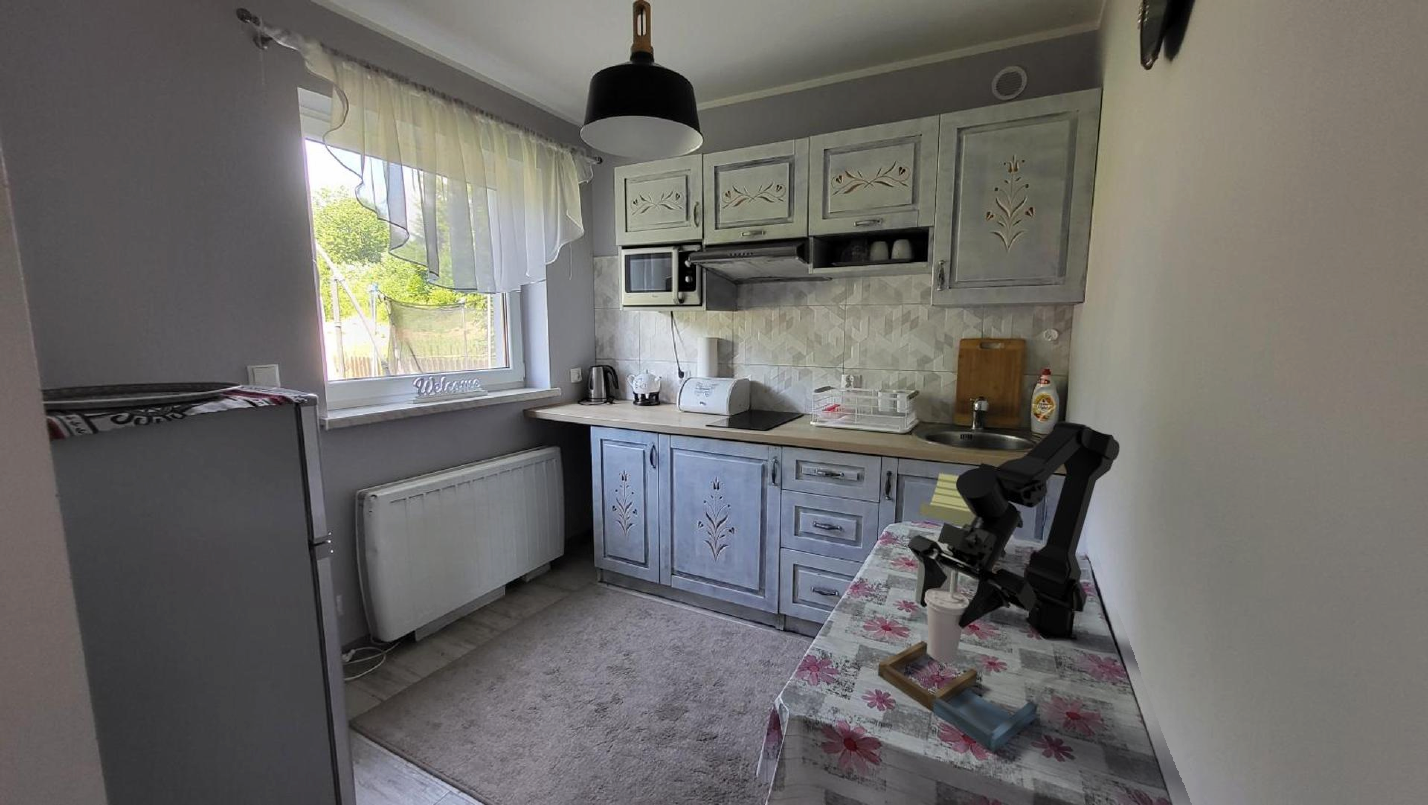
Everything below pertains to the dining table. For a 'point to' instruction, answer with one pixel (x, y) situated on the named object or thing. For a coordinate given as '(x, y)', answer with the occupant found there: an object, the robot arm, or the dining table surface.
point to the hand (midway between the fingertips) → (940, 616)
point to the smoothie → (945, 621)
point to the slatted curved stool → (948, 503)
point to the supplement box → (946, 570)
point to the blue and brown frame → (959, 702)
